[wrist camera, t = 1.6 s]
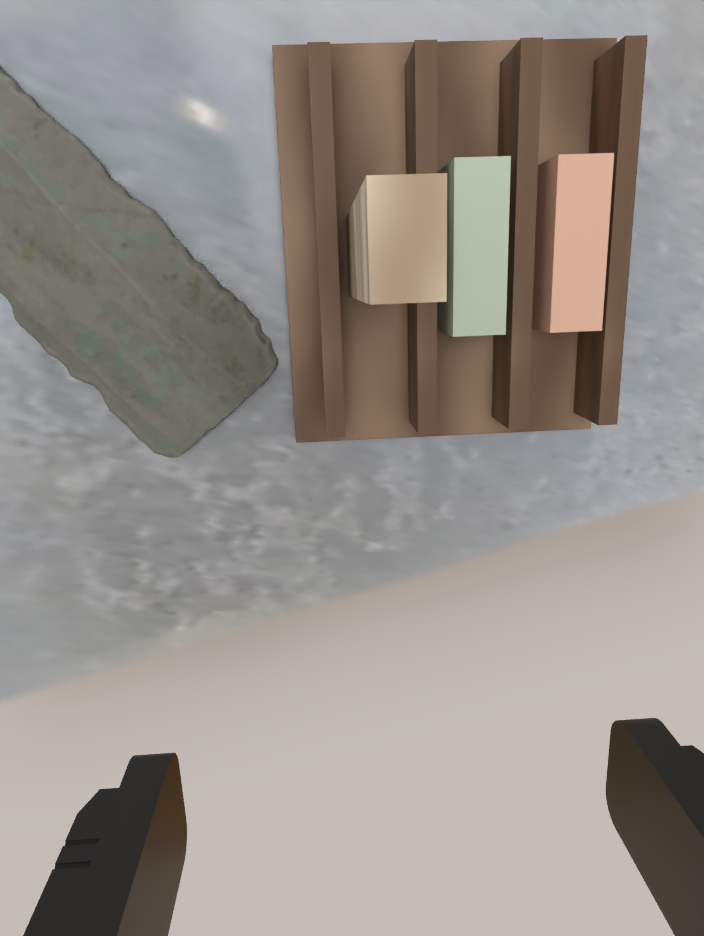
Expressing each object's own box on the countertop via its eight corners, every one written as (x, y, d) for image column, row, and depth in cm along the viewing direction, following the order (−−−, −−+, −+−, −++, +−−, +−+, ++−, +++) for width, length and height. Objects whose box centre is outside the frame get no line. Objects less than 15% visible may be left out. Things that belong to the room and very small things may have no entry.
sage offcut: (436, 330, 36) (452, 336, 32) (436, 173, 34) (454, 157, 30) (482, 328, 36) (505, 334, 32) (486, 172, 34) (510, 155, 30)
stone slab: (180, 460, 41) (294, 351, 38) (167, 476, 38) (287, 361, 35) (-123, 174, 36) (-17, 25, 33) (-162, 170, 33) (-52, 8, 30)
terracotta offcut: (521, 326, 36) (550, 332, 32) (527, 170, 34) (558, 154, 30) (567, 325, 36) (602, 330, 32) (576, 169, 34) (614, 152, 30)
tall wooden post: (348, 296, 35) (369, 304, 22) (345, 217, 34) (366, 175, 21) (396, 294, 35) (446, 301, 22) (394, 215, 34) (447, 173, 21)
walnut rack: (296, 436, 39) (294, 458, 34) (273, 55, 33) (267, 17, 28) (580, 423, 40) (617, 442, 35) (604, 48, 34) (651, 10, 29)
